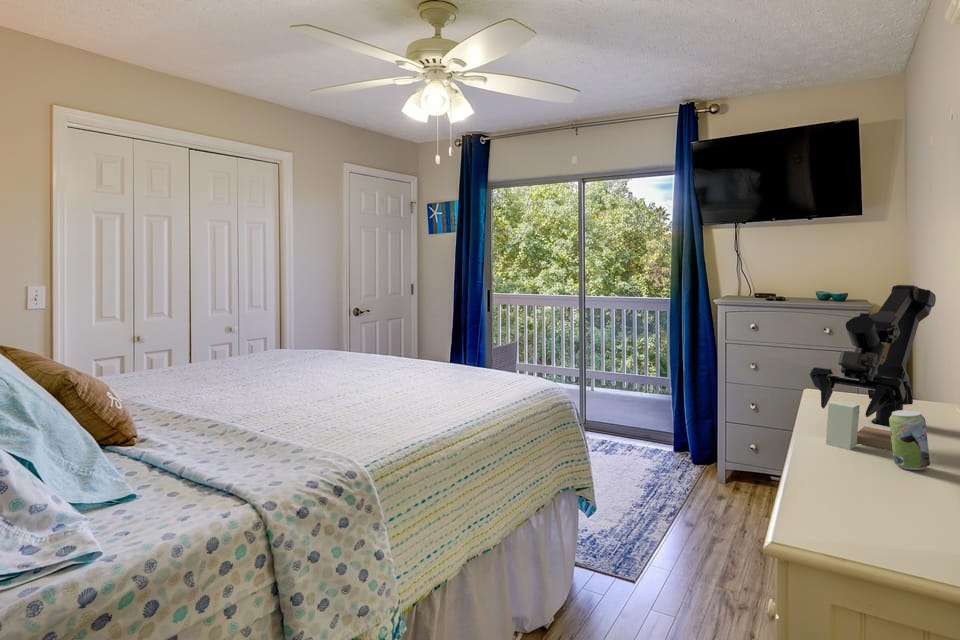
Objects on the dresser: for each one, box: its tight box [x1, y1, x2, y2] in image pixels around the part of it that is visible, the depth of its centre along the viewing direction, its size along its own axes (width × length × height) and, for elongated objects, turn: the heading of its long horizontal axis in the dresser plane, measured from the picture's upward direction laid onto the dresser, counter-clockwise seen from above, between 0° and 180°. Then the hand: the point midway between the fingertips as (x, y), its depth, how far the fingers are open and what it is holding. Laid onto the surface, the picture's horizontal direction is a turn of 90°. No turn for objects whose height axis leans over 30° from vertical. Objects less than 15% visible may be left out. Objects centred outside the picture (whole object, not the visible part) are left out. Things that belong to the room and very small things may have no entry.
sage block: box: [825, 400, 860, 451], centre depth 130 cm, size 4×5×10 cm
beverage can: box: [889, 409, 931, 471], centre depth 116 cm, size 6×7×12 cm
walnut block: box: [857, 425, 893, 452], centre depth 131 cm, size 10×10×2 cm
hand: (843, 411), depth 129 cm, fingers open, 9 cm apart
